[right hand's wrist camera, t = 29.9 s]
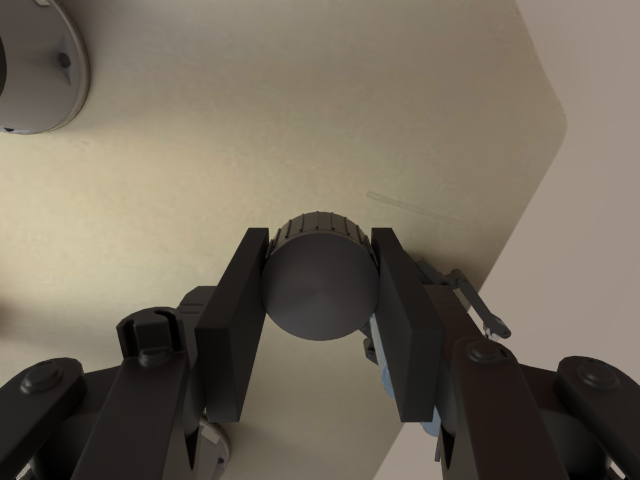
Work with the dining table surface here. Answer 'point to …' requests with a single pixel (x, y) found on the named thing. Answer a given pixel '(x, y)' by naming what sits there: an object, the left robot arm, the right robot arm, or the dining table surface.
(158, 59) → the dining table surface
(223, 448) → the left robot arm
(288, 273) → the cap
